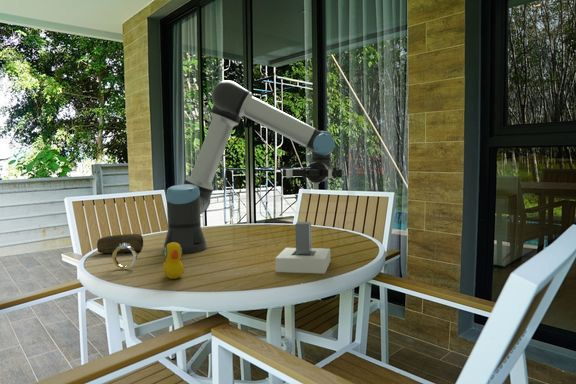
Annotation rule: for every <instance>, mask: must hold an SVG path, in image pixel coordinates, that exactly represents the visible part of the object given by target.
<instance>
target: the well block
mask: <svg viewBox="0 0 576 384" xmlns="http://www.w3.org/2000/svg"><path fill="white" fill-rule="evenodd" d="M274 262H275V273H298V274H299V273H301V274H326V272H327V269H328V268H329V265H330V264H331V248H324V247H323V248H319V247H316V248H315V247H314V248H313V247H312V256H299V255H296V247H285V248H284V249H283V250H282V251H281V252H280V253H279V254H278V255H277V256H275V261H274ZM329 263H330V264H329Z"/></svg>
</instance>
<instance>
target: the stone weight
mask: <svg viewBox="0 0 576 384" xmlns="http://www.w3.org/2000/svg"><path fill="white" fill-rule="evenodd" d="M123 243H127V244H128V243H129V244H130V247H132V248H134V249H135V251H137V252H140V251H142V250H143V247H144V237H143V236H142V234H141V233H140V234H139V233H128V234H127V233H125V234H124V233H123V234H115V235H109V236H108V235H107V236H103V237H100V238H98V239H97V243H96V246H97V247H96V248H97V252H98V253H100V254H101V253H102V254H113V252H114V250H116V248H117V247H119V246H120V244H121V245H122V244H123ZM124 252H128V253H132V252H131V250H129V249H128V248H125V249H121V248H120V250H119V251H117V253H116V254H125V253H124Z"/></svg>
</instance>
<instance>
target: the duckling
mask: <svg viewBox="0 0 576 384" xmlns="http://www.w3.org/2000/svg"><path fill="white" fill-rule="evenodd" d="M163 252H164V257H165V261H163V266H162V267H163V269H162V271H163V275H164V276H166V277H167V278H168V279H170V280H176V279H179V278H181V276H182V275H183V274H184V273H185V266H184V264H183V263H182V261H181V258H182V254H183V253H182V248H181V246H180V245H179V244H178V243H176V242H172V243H169V244H167V245H166V247H165V251H164V250H163Z"/></svg>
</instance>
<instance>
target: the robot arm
mask: <svg viewBox="0 0 576 384" xmlns="http://www.w3.org/2000/svg"><path fill="white" fill-rule="evenodd" d="M211 99H212V102H213V104H212V105H213V106H212V108H211V109H210V110H211V111H210V116H211V121H210V124H209V127H208V130H207V132H206V135H205V138H204V140H203V143H202V145H201V148H200V150H199V153H198V156H197V159H196V161H195V164H194V166H193V169H192V171H191V174H190V176H186V177H185V179H184V181H183V184H177V185H172V186H170V187H168V188H167V189H166V196H165V199H166V214H167V232H166V235H165V239H164V242H163V243H164V244H163V252H164V251H165V247H166V245H167V244H169V243H172V242H176V243H178V244H179V245H180V246H181V248H182V254H190V253H198V252H202V251H204V250H206V249H207V247H208V246H207V240H206V237H205V235H204V232H203V230H202V222H201V220H202V219H201V215H202V214H203V213H205V212H206V211H207V210H208V209H209V207H210V204H211V196H212V194H213V191H214V186H213V180H214V179H215V176H216V173H217V170H218V168H219V165H220V162H221V160H222V157H223V154H224V152H225V150H226V147H227V144H228V141H229V139H230V136H231V134H232V131H233V128H234V127H236V126H239V124H240V121H241V119H242V117H245V118H247V119H249V120H251V121H254V123H257V124H259V125H261V126H263V127H266V128H267V129H269V130H271V131H273V132H275V133H277V134H279V135H281V136H283V137H285V138H286V139H289V140H290V141H293V142H295V143H297V144H298V145H301V146H303V147H304V148H307V149H308V150H310V151H311V163H310V164H308V165H307V167H302V168H283V169H282V177H285V178H286V179H288V180H290V179H291V178H293V177H302V178H304V179H308V180H309V181H310V182H311V183H315V184H320V183H323V182H326V181H327V180H329V179H333V178H335V179H336V178H343V170H342V169H341V168H340V169H337V167H333V168H332V167H331V166H332V165H331V164H332V160H331V156H332V155H331V154H332V152H334V150H335V145H336V143H335V139H334V137H333V136H332V134H331V131H329V130H319V129H317V128H316V127H314V126H311V125H309V124H308V123H306V122H303V121H301V120H300V119H297V118H296V117H295V116H292V115H290V114H288V113H286V112H284V111H282V110H280V109H278V108H276V107H274V106H272V105H270V104H268V103H266V102H265V101H262V100H260V99H259V98H257V97H255V96H254V95H253V93H252V92H251V91H250V90H248V89H246V88H244V87H242V85H240V84H238V83H237V82H235V81H233V80H229V79H228V80H222V81H220V82H218V83H217V84H216V85H215V86H214V87H213V90H212V93H211Z"/></svg>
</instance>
